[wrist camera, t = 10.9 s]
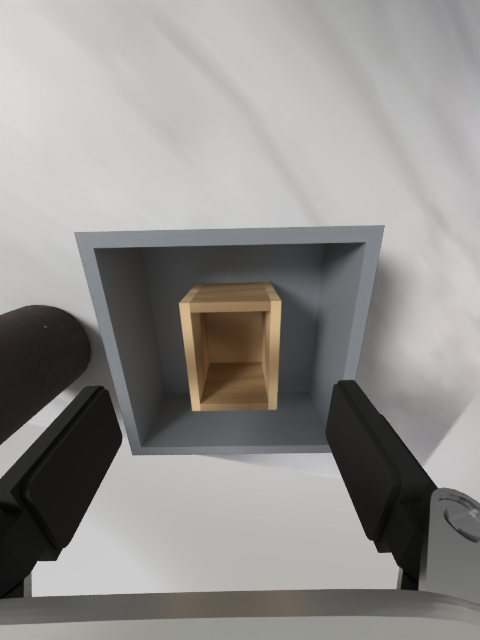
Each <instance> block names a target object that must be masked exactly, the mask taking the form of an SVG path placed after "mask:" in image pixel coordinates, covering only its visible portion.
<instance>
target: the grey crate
mask: <svg viewBox="0 0 480 640" xmlns="http://www.w3.org/2000/svg"><path fill="white" fill-rule="evenodd" d="M384 227H385V225H377V226H333V227H288V228H244V229H200V230H156V231H112V232H74V234H75V238H76V241H77V245H78V249H79V253H80V257H81V260H82V264H83V268H84V272H85V276H86V280H87V283H88V287H89V291H90V295H91V299H92V302H93V306H94V310H95V314H96V318H97V322H98V325H99V329H100V333H101V337H102V341H103V344H104V348H105V352H106V356H107V360H108V363H109V367H110V371H111V375H112V379H113V383H114V386H115V390H116V394H117V398H118V402H119V405H120V409H121V413H122V417H123V421H124V425H125V428H126V432H127V436H128V440H129V444H130V447H131V451H132V455H192V454H269V453H332V451H331V449H330V446H329V444H328V442H327V439H326V425H327V419H328V414H329V408H330V402H331V396H332V391H333V386H334V384H337V382H338V381H339V380H354V381H355V379H356V374H357V369H358V364H359V358H360V353H361V348H362V342H363V337H364V332H365V327H366V321H367V316H368V311H369V306H370V300H371V295H372V290H373V285H374V279H375V274H376V269H377V264H378V258H379V253H380V248H381V242H382V237H383V232H384ZM235 281H270V283H271V284H272V286H273V288H274V289H275V291H276V293H277V294H278V296H279V298H280V300H281V322H280V345H279V369H278V392H277V410H229V411H192V404H191V396H190V388H189V380H188V372H187V364H186V356H185V348H184V340H183V332H182V324H181V316H180V308H179V303H180V301H181V300H182V299H183V298H184V297H185V296H186V295H187V293H188V292H189V291H190V290H191V289H192V288H193V287H194V285H195V284H196V283H197V282H235Z"/></svg>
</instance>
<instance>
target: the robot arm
mask: <svg viewBox="0 0 480 640" xmlns="http://www.w3.org/2000/svg"><path fill="white" fill-rule="evenodd" d="M326 439H327V442H328V444H329V446H330V449H331V451H332V454H333V456H334V459H335V461H336V463H337V466H338V468H339V471H340V473H341V476H342V478H343V480H344V483H345V485H346V488H347V490H348V493H349V495H350V497H351V500H352V502H353V505H354V507H355V510H356V512H357V515H358V517H359V519H360V522H361V524H362V527H363V529H364V532H365V534H366V536H367V538H368V539H369V540H373V541H374V544H375V546H376V548H377V551H378V553H387V552H388V553H389V552H392V555H393V556H394V559H395V561H396V563H397V565H398V566H399V574H398V581H397V589H391V590H390V589H380V590H379V589H325V590H324V589H323V590H273V591H225V592H185V593H149V594H148V593H146V594H112V595H80V596H48V597H32V589H31V588H32V586H31V585H32V583H31V582H32V581H31V571H32V570H33V568H34V566H35V564H36V563H37V561H56V560H57V558H58V556H59V555H60V553H61V551H62V549H63V548H65V547H66V546H67V545H68V544H69V543H70V541H71V540H72V538H73V536H74V534H75V532H76V530H77V528H78V526H79V524H80V522H81V520H82V518H83V517H84V515H85V513H86V511H87V509H88V507H89V505H90V503H91V501H92V499H93V497H94V496H95V493H96V492H97V489H98V488H99V486H100V484H101V482H102V480H103V478H104V476H105V474H106V472H107V470H108V469H109V467H110V465H111V463H112V461H113V459H114V457H115V455H116V453H117V451H118V449H119V448H120V446H121V443H122V433H121V430H120V427H119V423H118V420H117V417H116V414H115V410H114V407H113V404H112V401H111V398H110V394H109V392H108V390H107V389H105V388H104V387H103V386H87V387H85V388H84V389H83V390H82V391H81V392H80V393H79V394H78V395H77V396H76V397H75V399H74V400H73V401H72V402H71V403H70V404H69V405H68V406H67V407H66V408H65V409H64V411H63V412H62V413H61V414H60V415H59V416H58V417H57V418H56V419H55V420H54V421H53V422H52V424H51V425H50V426H49V427H48V428H47V429H46V430H45V431H44V432H43V433H42V434H41V435H40V437H39V438H38V439H37V440H36V441H35V442H34V443H33V444H32V445H31V446H30V447H29V449H28V450H27V451H26V452H25V453H24V454H23V455H22V456H21V457H20V458H19V459H18V461H16V463H15V464H14V465H13V466H12V467H11V468H10V469H9V470H8V471H7V472H6V474H5V475H4V476H3V477H2V478H1V479H0V640H480V503H478V502H477V501H476V500H474V499H473V498H471V497H469V496H468V495H466V494H464V493H462V492H459V491H457V490H454V489H449V488H439V489H438V488H437V486H436V485H435V484H434V482H433V481H432V480H431V478H430V477H429V476H428V474H427V473H426V472H425V470H424V469H423V468H422V466H421V465H420V464H419V462H418V461H417V460H416V458H415V457H414V456H413V454H412V453H411V452H410V450H409V449H408V448H407V446H406V445H405V444H404V442H403V441H402V440H401V438H400V437H399V436H398V434H397V433H396V432H395V431H394V429H393V428H392V427H391V425H390V424H389V423H388V421H387V420H386V419H385V417H384V416H383V415H381V414H380V413H379V412H378V411H377V410H376V408H375V407H374V406H373V404H372V403H371V402H370V400H369V399H368V398H367V396H366V395H365V394H364V392H363V391H362V390H361V388H360V387H359V385H358V384H357V383H356V382H355V381H354V380H339V381H338V382H337V384H334V386H333V391H332V396H331V402H330V408H329V414H328V419H327V425H326Z"/></svg>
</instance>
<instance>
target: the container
mask: <svg viewBox="0 0 480 640" xmlns="http://www.w3.org/2000/svg"><path fill="white" fill-rule="evenodd" d="M89 360H90V345H89V341H88V338H87V336H86V334H85V332H84V331H83V329H82V328H81V326H80V325H79V324H78V323H77V322H76V321H75V320H74V319H73V318H72V317H71V316H69V315H68V314H66V313H65V312H63V311H61V310H59V309H57V308H54V307H50V306H44V305H31V306H25V307H22V308H19V309H16V310H13V311H10V312H8V313H5V314H2V315H0V445H1V444H2V443H3V442H4V441H5V440H7V439H8V438H9V437H10V436H11V435H12V434H13V433H15V432H16V431H17V430H18V429H19V428H20V427H22V426H23V425H24V424H25V423H26V422H27V421H29V420H30V419H31V418H32V417H33V416H34V415H36V414H37V413H38V412H39V411H40V410H41V409H42V408H44V407H45V406H46V405H47V404H48V403H49V402H51V401H52V400H53V399H54V398H55V397H56V396H58V395H59V394H60V393H61V392H62V391H64V390H65V389H66V388H67V387H68V386H69V385H70V384H72V383H73V382H74V381H75V380H76V379H77V378H78V377H79V376H80V375H81V374H82V373H83V372H84V371H85V370H86V368H87V366H88V363H89Z"/></svg>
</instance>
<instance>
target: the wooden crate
mask: <svg viewBox="0 0 480 640" xmlns="http://www.w3.org/2000/svg"><path fill="white" fill-rule="evenodd" d="M179 308H180V316H181V324H182V332H183V340H184V348H185V356H186V364H187V372H188V380H189V388H190V396H191V404H192V411H229V410H277V392H278V369H279V345H280V322H281V300H280V298H279V296H278V294H277V293H276V291H275V289H274V288H273V286H272V284H271V283H270V281H235V282H197V283H196V284H195V285H194V287H193V288H192V289H191V290H190V291H189V292H188V293H187V295H186V296H185V297H184V298H183V299H182V300H181V301H180V303H179Z"/></svg>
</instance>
